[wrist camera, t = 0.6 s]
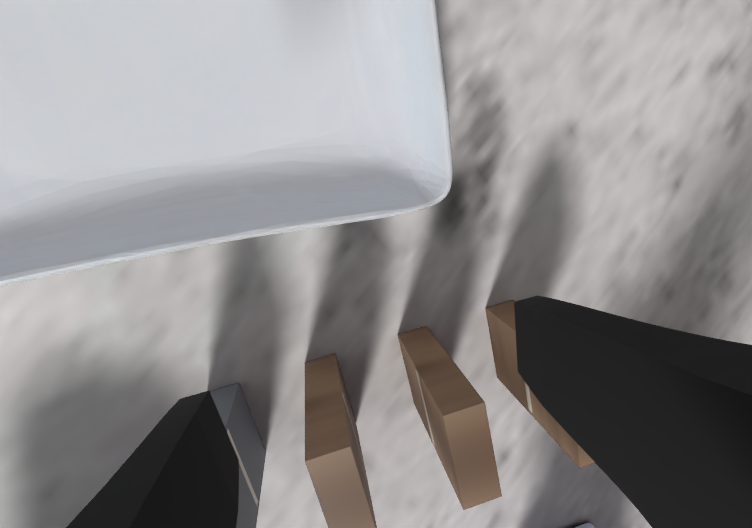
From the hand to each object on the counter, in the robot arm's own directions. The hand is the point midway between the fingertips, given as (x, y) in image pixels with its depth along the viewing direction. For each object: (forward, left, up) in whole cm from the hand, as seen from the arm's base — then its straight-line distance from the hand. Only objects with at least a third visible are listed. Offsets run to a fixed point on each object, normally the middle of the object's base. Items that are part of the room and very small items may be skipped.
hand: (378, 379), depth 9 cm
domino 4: (-7, +2, -11) cm, 13 cm away
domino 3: (-7, -3, -11) cm, 13 cm away
